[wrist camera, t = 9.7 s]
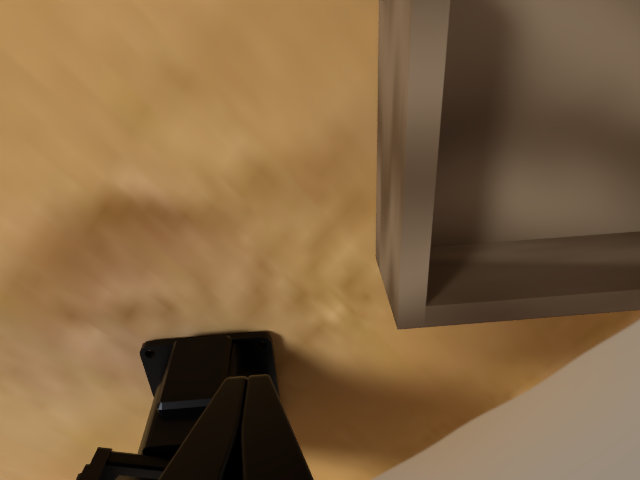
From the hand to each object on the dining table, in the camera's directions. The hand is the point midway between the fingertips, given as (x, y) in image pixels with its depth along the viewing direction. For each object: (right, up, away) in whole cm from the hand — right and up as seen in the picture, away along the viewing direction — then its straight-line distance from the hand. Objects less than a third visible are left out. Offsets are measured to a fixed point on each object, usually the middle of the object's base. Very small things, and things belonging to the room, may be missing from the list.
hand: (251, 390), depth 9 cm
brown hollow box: (+10, +8, +10) cm, 16 cm away
